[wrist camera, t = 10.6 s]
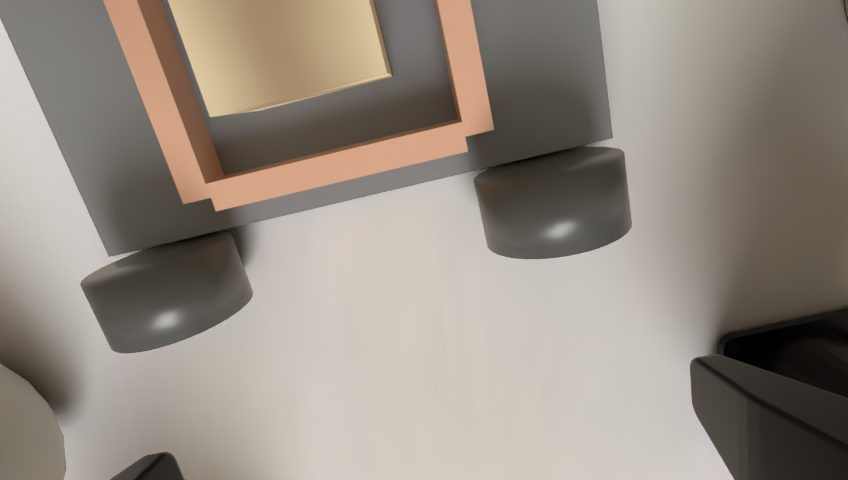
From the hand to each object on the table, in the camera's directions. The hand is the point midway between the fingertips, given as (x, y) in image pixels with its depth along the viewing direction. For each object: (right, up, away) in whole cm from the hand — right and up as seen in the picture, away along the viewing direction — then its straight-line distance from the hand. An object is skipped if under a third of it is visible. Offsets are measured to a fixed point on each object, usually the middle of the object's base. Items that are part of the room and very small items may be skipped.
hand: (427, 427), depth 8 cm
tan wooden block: (-4, +11, +8) cm, 15 cm away
